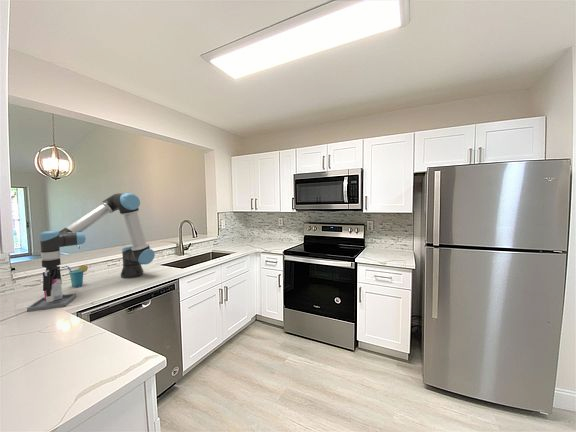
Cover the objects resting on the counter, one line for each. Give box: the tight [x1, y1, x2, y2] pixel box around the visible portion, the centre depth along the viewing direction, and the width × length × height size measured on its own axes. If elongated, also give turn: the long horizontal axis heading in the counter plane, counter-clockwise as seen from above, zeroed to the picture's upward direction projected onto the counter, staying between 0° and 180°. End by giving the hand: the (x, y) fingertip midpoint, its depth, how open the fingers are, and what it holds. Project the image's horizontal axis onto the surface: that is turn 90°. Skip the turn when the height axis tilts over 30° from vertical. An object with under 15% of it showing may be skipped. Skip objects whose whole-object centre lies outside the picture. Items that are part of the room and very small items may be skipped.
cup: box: [60, 264, 89, 288], centre depth 165 cm, size 14×8×15 cm, turn 129°
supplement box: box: [43, 278, 63, 303], centre depth 136 cm, size 6×6×12 cm
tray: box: [26, 292, 78, 313], centre depth 137 cm, size 16×16×2 cm
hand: (53, 298), depth 137 cm, fingers closed on supplement box, 8 cm apart
